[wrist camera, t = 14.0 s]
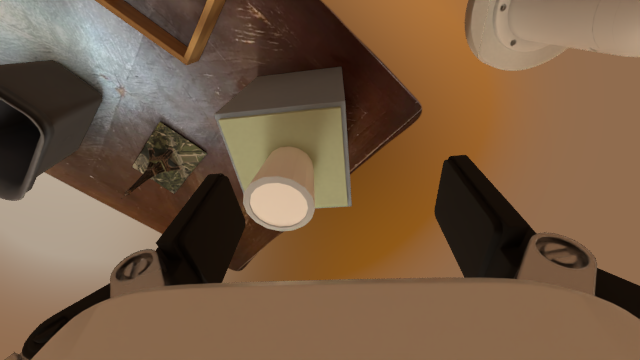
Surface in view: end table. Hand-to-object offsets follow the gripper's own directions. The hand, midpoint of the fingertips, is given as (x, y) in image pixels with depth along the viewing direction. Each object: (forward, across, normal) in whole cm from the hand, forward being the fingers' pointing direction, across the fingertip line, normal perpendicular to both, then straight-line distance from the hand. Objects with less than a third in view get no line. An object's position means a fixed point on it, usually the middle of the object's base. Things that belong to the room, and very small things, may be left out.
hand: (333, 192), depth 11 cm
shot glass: (+16, +6, +8) cm, 19 cm away
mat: (+16, +6, +8) cm, 19 cm away
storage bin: (+34, +51, +2) cm, 62 cm away
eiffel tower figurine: (+34, +36, +15) cm, 52 cm away
